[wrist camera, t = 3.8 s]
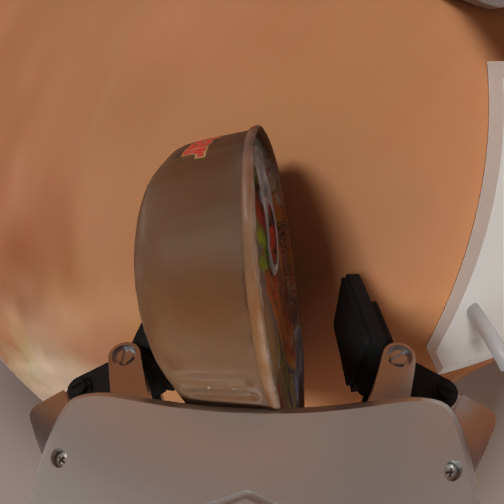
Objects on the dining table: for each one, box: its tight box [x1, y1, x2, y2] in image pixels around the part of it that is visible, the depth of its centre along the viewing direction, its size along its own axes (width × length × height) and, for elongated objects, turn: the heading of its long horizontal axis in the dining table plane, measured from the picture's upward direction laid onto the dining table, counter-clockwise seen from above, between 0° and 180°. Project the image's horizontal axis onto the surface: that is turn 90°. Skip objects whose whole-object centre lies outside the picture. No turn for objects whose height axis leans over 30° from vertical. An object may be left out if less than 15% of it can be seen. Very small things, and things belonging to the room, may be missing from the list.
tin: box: [134, 125, 304, 410], centre depth 10 cm, size 15×3×8 cm, turn 11°
